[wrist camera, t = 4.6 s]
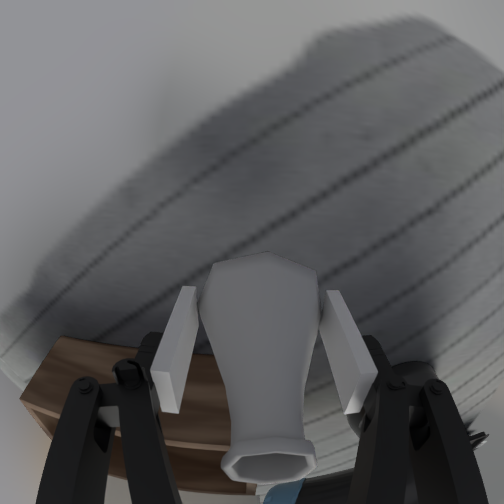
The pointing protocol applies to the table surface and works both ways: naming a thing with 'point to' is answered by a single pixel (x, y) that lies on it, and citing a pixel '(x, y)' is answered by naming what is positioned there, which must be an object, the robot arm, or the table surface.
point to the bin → (173, 425)
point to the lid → (120, 499)
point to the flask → (263, 361)
